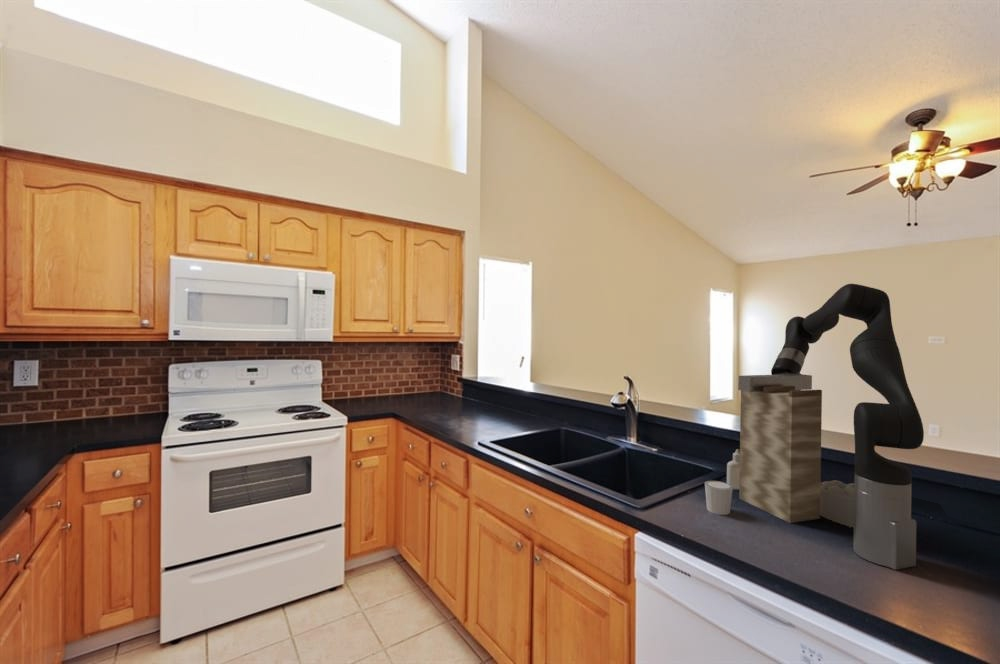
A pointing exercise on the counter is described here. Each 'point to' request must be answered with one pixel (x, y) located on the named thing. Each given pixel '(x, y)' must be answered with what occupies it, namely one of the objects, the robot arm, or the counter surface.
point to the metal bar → (774, 382)
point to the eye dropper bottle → (734, 471)
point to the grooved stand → (781, 451)
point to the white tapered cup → (718, 497)
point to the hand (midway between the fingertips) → (771, 402)
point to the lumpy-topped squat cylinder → (837, 502)
